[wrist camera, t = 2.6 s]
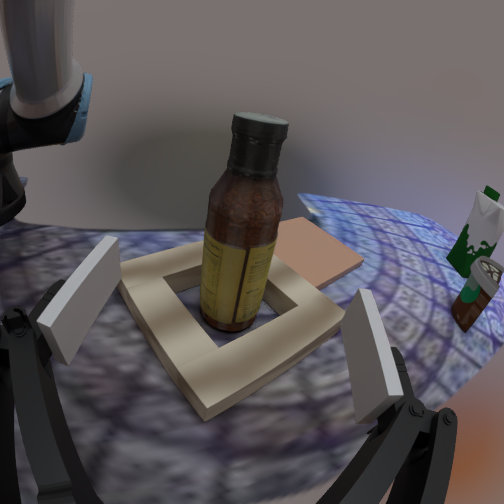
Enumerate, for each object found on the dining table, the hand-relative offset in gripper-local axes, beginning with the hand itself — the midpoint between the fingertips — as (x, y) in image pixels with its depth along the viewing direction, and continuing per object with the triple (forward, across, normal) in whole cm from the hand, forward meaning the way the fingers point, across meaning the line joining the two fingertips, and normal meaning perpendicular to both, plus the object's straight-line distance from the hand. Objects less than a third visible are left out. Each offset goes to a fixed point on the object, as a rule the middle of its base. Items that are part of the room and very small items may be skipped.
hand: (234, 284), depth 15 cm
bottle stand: (+10, 0, -12) cm, 16 cm away
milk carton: (+34, +51, -13) cm, 62 cm away
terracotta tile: (+26, +10, -12) cm, 30 cm away
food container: (+18, +39, -13) cm, 44 cm away
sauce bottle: (+10, 0, -13) cm, 16 cm away
